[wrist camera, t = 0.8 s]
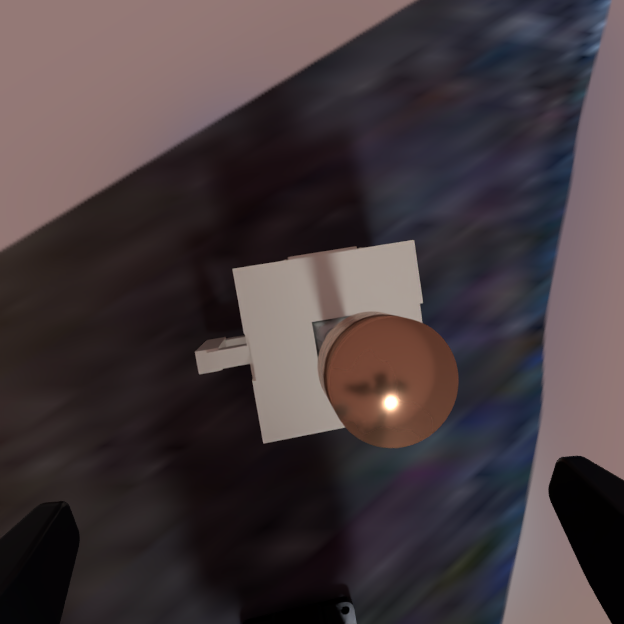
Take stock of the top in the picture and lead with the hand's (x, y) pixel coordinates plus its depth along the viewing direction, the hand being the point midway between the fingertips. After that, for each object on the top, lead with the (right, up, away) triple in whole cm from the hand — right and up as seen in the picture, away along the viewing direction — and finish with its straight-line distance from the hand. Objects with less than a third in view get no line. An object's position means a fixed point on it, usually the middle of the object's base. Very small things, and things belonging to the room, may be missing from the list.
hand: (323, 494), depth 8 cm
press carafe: (-1, +2, +16) cm, 17 cm away
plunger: (+1, +2, +12) cm, 12 cm away
